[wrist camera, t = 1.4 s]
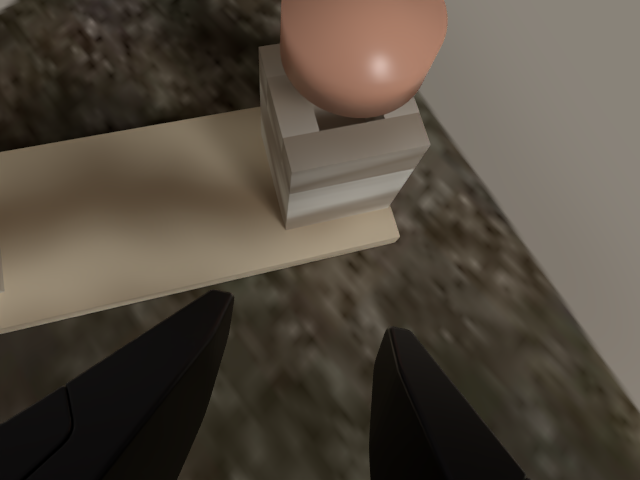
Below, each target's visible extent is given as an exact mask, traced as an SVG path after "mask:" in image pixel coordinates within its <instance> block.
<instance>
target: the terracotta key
mask: <svg viewBox="0 0 640 480" xmlns="http://www.w3.org/2000/svg"><path fill="white" fill-rule="evenodd" d="M446 30H447V11H446V5H445V2H444V0H282V2H281V30H280V56H281V61H282V65H283V68H284V70H285V73H286V75H287V77H288V79H289V80H290V82H291V83H292V85H293V86H294V87H295V88H296V90H297V91H298V92H299V93H300V94H301V95H302V96H303V97H305V98H306V99H307V100H308V101H309V102H311V103H313V104H314V105H316V106H317V107H319V108H321V109H323V110H325V111H327V112H330V113H333V114H336V115H340V116H344V117H351V118H370V117H377V116H381V115H385V114H387V113H390V112H392V111H395V110H396V109H398V108H400V107H402V106H403V105H404V104H406V103H407V102H408V101H409V100H410V99H411V98H412V97H413V96H414V95H415V94H416V93H417V91H418V90H419V88H420V87H421V85H422V83H423V81H424V79H425V77H426V75H427V73H428V71H429V69H430V67H431V65H432V63H433V61H434V59H435V57H436V55H437V53H438V51H439V49H440V47H441V45H442V44H443V41H444V38H445V35H446Z"/></svg>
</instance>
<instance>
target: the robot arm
mask: <svg viewBox="0 0 640 480" xmlns="http://www.w3.org/2000/svg"><path fill="white" fill-rule="evenodd" d="M233 304H234V295H233V294H232V293H229V292H225V291H220V290H215V289H213V290H210V291H208V292H207V293H205V294H204V295H202V296H200V297H199V298H197V299H196V300H194V301H193V302H191V303H190V304H188V305H187V306H185V307H183V308H182V309H180V310H179V311H177V312H176V313H174V314H173V315H171V316H170V317H168V318H166V319H165V320H163V321H162V322H160V323H159V324H157V325H156V326H154V327H153V328H151V329H149V330H148V331H146V332H145V333H143V334H142V335H140V336H139V337H137V338H136V339H134V340H132V341H131V342H129V343H128V344H126V345H125V346H123V347H122V348H120V349H119V350H117V351H115V352H114V353H112V354H111V355H109V356H108V357H106V358H105V359H103V360H101V361H100V362H98V363H97V364H95V365H94V366H92V367H91V368H89V369H88V370H86V371H84V372H83V373H81V374H80V375H78V376H77V377H75V378H74V379H72V380H71V381H69V382H67V384H66V387H65V386H61V387H59V388H58V389H56V390H55V391H53V392H52V393H50V394H49V395H47V396H45V397H44V398H42V399H41V400H39V401H38V402H36V403H34V404H33V405H31V406H29V407H28V408H26V409H24V410H23V411H21V412H20V413H18V414H16V415H15V416H13V417H11V418H10V419H8V420H7V421H5V422H3V423H1V424H0V480H177V478H178V476H179V474H180V472H181V469H182V467H183V465H184V462H185V460H186V458H187V456H188V453H189V451H190V449H191V446H192V444H193V442H194V439H195V437H196V435H197V433H198V430H199V428H200V426H201V423H202V421H203V418H204V416H205V413H206V410H207V407H208V404H209V401H210V397H211V394H212V390H213V387H214V384H215V380H216V377H217V373H218V370H219V367H220V363H221V360H222V356H223V353H224V350H225V346H226V343H227V339H228V335H229V330H230V323H231V317H232V310H233ZM369 460H370V477H371V480H531V479H530V478H526V473H525V472H524V471H523V470H522V468H521V467H520V466H519V465H518V463H517V462H516V461H515V460H514V458H513V457H512V456H511V455H510V453H509V452H508V451H507V450H506V448H505V447H504V446H503V445H502V444H501V442H500V441H499V440H498V439H497V437H496V436H495V435H494V434H493V432H492V431H491V430H490V429H489V427H488V426H487V425H486V424H485V422H484V421H483V420H482V419H481V417H480V416H479V415H478V414H477V412H476V411H475V410H474V409H473V408H472V406H471V405H470V404H469V403H468V401H467V400H466V399H465V398H464V396H463V395H462V394H461V393H460V391H459V390H458V389H457V388H456V386H455V385H454V384H453V383H452V381H451V380H450V379H449V378H448V376H447V375H446V374H445V373H444V372H443V370H442V369H441V368H440V367H439V365H438V364H437V363H436V362H435V360H434V359H433V358H432V357H431V355H430V354H429V353H428V352H427V350H426V349H425V348H424V347H423V345H422V344H421V343H420V342H419V340H418V339H417V338H416V337H415V336H414V334H413V333H412V332H411V331H410V330H407V329H402V328H397V327H392V326H390V327H388V328H387V330H386V331H385V334H384V337H383V340H382V343H381V346H380V348H379V351H378V354H377V357H376V360H375V365H374V371H373V387H372V403H371V420H370V437H369ZM525 478H526V479H525Z"/></svg>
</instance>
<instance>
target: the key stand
mask: <svg viewBox="0 0 640 480" xmlns="http://www.w3.org/2000/svg"><path fill="white" fill-rule="evenodd" d="M259 76H260V107H254V108H248V109H243V110H237V111H231V112H226V113H220V114H214V115H209V116H203V117H197V118H192V119H186V120H180V121H175V122H169V123H163V124H158V125H152V126H146V127H140V128H135V129H129V130H123V131H118V132H112V133H106V134H101V135H95V136H89V137H84V138H78V139H72V140H67V141H61V142H55V143H50V144H44V145H38V146H32V147H27V148H21V149H15V150H10V151H4V152H0V334H3V333H7V332H11V331H16V330H20V329H24V328H29V327H33V326H37V325H42V324H46V323H50V322H54V321H59V320H63V319H67V318H72V317H76V316H80V315H85V314H89V313H93V312H98V311H102V310H106V309H110V308H115V307H119V306H123V305H128V304H132V303H136V302H141V301H145V300H149V299H153V298H158V297H162V296H166V295H171V294H175V293H179V292H184V291H188V290H192V289H197V288H201V287H205V286H209V285H214V284H218V283H222V282H227V281H231V280H235V279H240V278H244V277H248V276H252V275H257V274H261V273H265V272H270V271H274V270H278V269H283V268H287V267H291V266H296V265H300V264H304V263H308V262H313V261H317V260H321V259H326V258H330V257H334V256H339V255H343V254H347V253H351V252H356V251H360V250H364V249H369V248H373V247H377V246H382V245H386V244H390V243H395V242H396V240H397V239H398V238H399V237H400V235H399V232H398V229H397V226H396V223H395V219H394V216H393V213H392V210H391V207H390V204H391V202H392V201H393V199H394V198H395V196H396V195H397V193H398V192H399V191H400V189H401V188H402V186H403V185H404V183H405V182H406V180H407V179H408V177H409V176H410V174H411V173H412V171H413V170H414V168H415V167H416V165H417V164H418V162H419V161H420V159H421V158H422V157H423V155H424V154H425V152H426V151H427V149H428V148H429V146H430V142H429V139H428V136H427V133H426V130H425V127H424V125H423V122H422V119H421V116H420V113H419V110H418V107H417V104H416V101H415V99H414V96H413V97H412V98H411V99H410V100H409V101H408V102H407V103H406V104H404V105H403V106H402V107H400V108H398V109H396V110H395V111H392V112H390V113H387V114H385V115H381V116H377V117H370V118H351V117H344V116H340V115H336V114H333V113H330V112H327V111H325V110H323V109H321V108H319V107H317V106H316V105H314V104H313V103H311V102H309V101H308V100H307V99H306V98H305V97H303V96H302V95H301V94H300V93H299V92H298V91H297V90H296V88H295V87H294V86H293V85H292V83H291V82H290V80H289V79H288V77H287V75H286V73H285V70H284V68H283V65H282V61H281V56H280V44H274V45H267V46H261V47H259Z"/></svg>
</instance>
